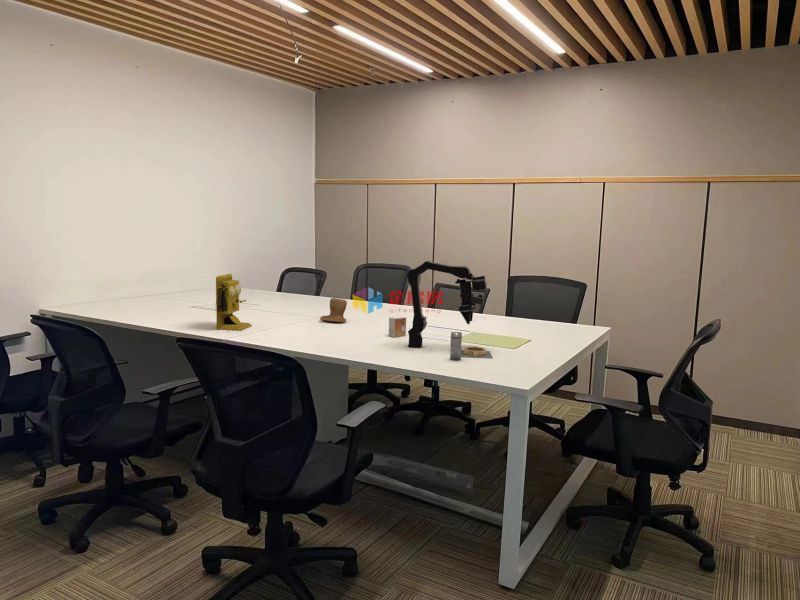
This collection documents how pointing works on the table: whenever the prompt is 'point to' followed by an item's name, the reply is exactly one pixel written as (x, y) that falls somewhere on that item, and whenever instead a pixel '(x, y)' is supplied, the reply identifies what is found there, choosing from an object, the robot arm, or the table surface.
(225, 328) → the vintage telephone
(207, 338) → the table surface
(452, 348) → the grey tall cylinder
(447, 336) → the table surface
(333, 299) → the brown suede boot shape
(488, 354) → the mat
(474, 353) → the ring collar
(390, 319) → the small box
